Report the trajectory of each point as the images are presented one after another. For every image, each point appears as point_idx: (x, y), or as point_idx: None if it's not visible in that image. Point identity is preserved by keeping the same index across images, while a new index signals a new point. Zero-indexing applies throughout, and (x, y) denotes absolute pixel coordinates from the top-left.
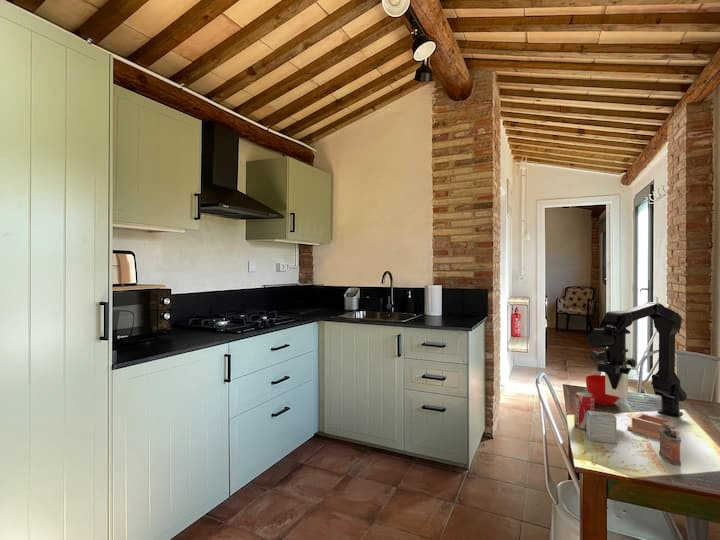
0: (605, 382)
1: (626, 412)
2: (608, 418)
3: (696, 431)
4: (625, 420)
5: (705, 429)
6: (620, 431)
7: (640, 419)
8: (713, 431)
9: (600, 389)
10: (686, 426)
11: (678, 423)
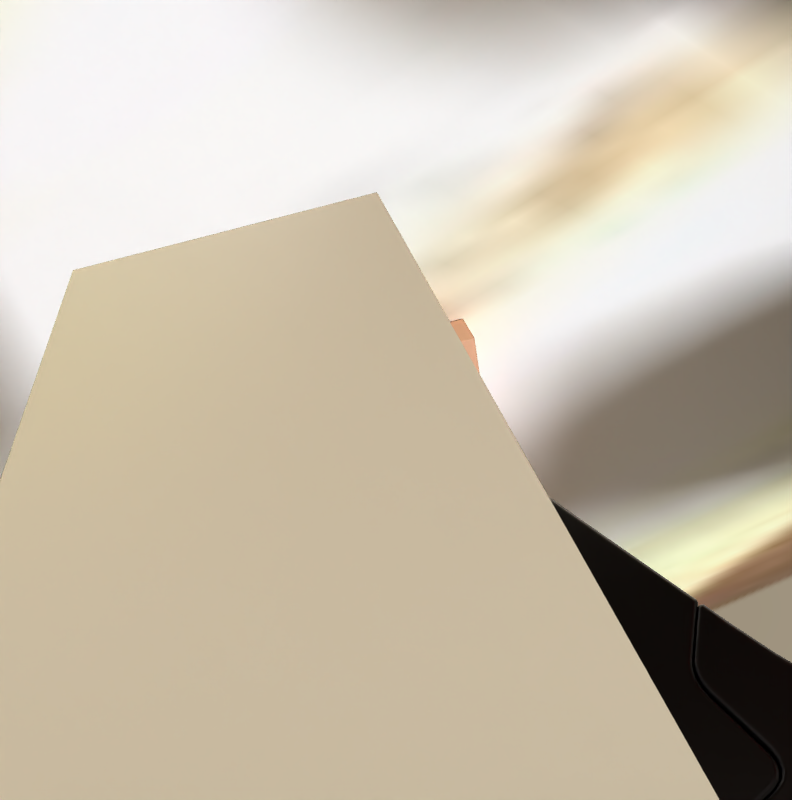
0: (4, 490)
1: (718, 19)
2: None
3: (662, 571)
4: (396, 217)
5: (757, 562)
6: (3, 419)
7: None
8: (753, 592)
9: None
10: (724, 499)
11: (754, 444)
